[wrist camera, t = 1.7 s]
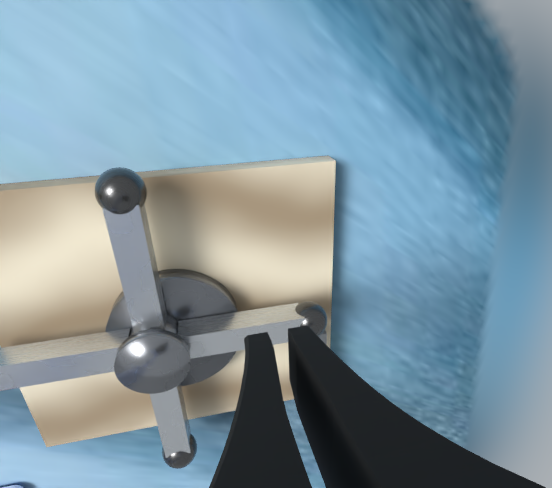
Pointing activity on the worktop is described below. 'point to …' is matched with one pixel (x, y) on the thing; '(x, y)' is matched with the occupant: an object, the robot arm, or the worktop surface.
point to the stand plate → (169, 255)
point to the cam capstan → (154, 325)
